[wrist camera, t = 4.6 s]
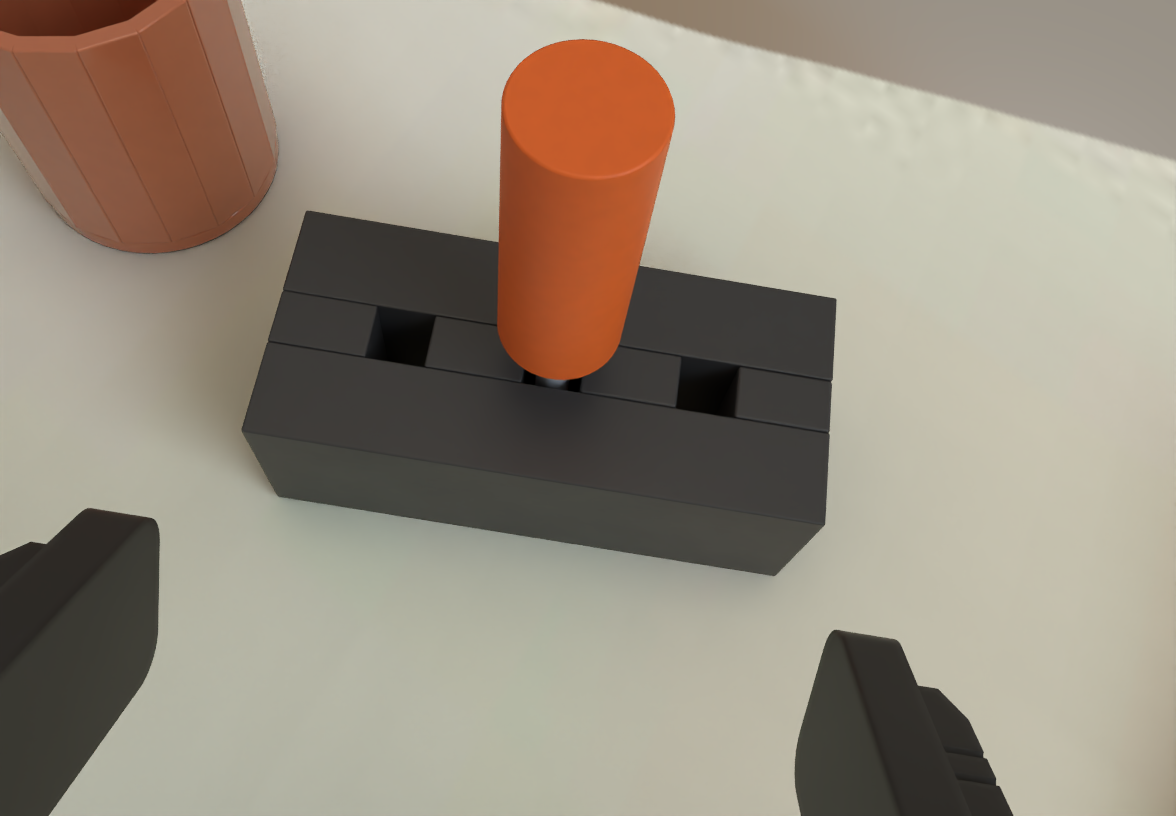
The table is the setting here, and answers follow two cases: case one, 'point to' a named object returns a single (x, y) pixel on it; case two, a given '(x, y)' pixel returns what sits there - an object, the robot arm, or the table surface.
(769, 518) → the holder
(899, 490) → the table surface
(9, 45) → the pen cup
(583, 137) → the orange screwdriver
